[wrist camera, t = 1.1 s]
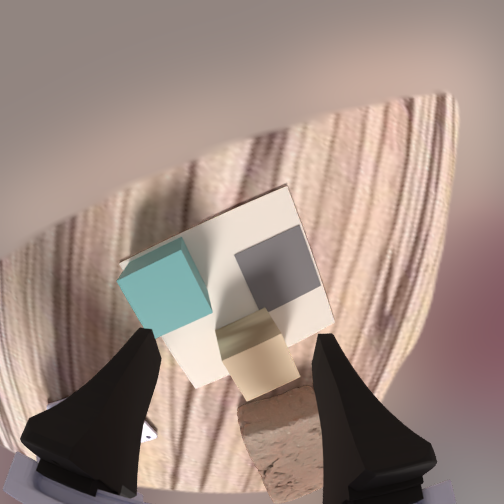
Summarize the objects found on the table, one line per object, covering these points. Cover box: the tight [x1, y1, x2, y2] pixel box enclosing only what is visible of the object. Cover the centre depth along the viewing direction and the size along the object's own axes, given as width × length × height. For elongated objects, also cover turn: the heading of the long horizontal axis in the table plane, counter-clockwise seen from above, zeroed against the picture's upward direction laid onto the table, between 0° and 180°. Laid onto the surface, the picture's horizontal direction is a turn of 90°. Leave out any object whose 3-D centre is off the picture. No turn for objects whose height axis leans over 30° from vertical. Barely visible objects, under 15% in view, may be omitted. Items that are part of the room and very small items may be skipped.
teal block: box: [117, 237, 213, 338], centre depth 20 cm, size 4×4×4 cm
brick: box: [237, 386, 323, 504], centre depth 27 cm, size 17×8×5 cm, turn 14°
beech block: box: [215, 308, 300, 401], centre depth 23 cm, size 4×4×4 cm
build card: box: [119, 186, 335, 389], centre depth 24 cm, size 14×13×1 cm
